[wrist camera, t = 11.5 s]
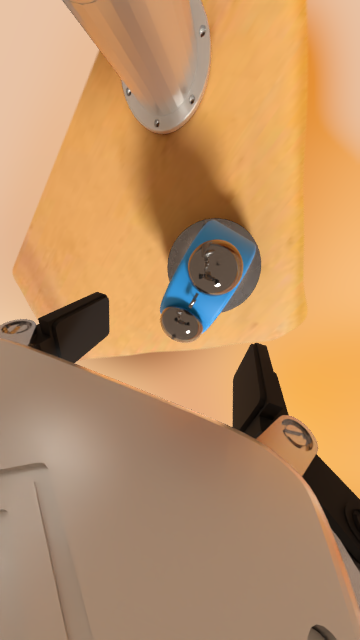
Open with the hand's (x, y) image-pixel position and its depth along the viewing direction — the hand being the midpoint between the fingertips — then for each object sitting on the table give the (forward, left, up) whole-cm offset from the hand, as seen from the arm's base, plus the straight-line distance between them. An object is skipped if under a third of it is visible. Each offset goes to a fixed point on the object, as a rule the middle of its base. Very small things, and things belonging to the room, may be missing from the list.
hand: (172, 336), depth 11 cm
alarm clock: (0, 0, -20) cm, 20 cm away
